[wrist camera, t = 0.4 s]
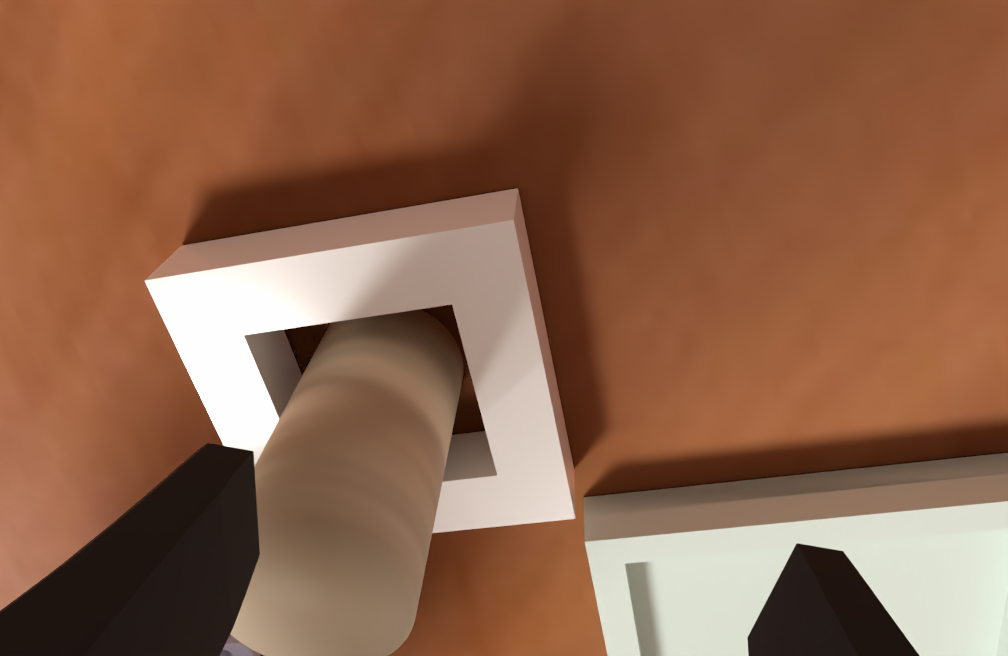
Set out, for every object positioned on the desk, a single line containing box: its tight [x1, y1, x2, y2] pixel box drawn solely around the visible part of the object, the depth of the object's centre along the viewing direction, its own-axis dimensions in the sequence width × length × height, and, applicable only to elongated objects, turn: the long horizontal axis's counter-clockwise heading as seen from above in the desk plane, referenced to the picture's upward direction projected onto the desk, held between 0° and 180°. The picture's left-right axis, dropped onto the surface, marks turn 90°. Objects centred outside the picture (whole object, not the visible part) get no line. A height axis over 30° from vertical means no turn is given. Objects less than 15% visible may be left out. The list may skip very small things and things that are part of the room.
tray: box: [583, 453, 1008, 656], centre depth 24 cm, size 13×13×2 cm
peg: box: [230, 309, 464, 656], centre depth 17 cm, size 4×4×8 cm
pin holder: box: [144, 188, 575, 533], centre depth 20 cm, size 9×9×2 cm
